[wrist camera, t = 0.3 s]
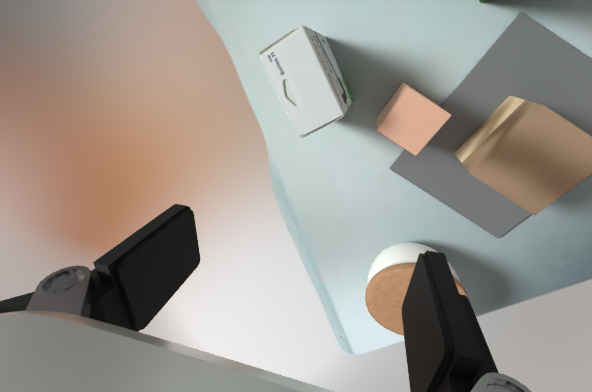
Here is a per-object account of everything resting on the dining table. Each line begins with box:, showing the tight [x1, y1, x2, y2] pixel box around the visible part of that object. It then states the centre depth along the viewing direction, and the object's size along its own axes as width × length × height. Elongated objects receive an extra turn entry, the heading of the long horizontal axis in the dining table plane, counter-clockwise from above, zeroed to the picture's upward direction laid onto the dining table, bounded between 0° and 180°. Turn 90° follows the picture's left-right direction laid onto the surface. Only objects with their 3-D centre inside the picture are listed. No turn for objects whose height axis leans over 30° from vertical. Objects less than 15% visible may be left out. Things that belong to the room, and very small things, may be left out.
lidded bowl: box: [365, 242, 469, 335], centre depth 38 cm, size 13×13×11 cm
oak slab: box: [454, 96, 525, 163], centre depth 30 cm, size 8×8×4 cm
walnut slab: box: [462, 100, 592, 215], centre depth 27 cm, size 8×8×4 cm
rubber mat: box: [390, 12, 592, 238], centre depth 32 cm, size 20×18×1 cm
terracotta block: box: [377, 82, 451, 156], centre depth 30 cm, size 5×5×7 cm
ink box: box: [259, 25, 353, 138], centre depth 29 cm, size 9×5×12 cm, turn 29°
